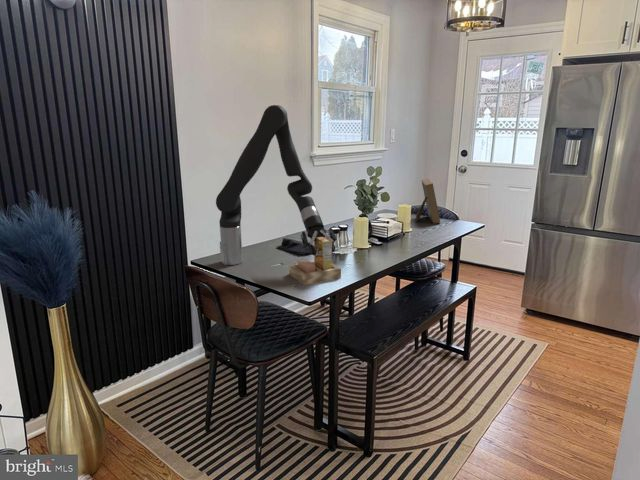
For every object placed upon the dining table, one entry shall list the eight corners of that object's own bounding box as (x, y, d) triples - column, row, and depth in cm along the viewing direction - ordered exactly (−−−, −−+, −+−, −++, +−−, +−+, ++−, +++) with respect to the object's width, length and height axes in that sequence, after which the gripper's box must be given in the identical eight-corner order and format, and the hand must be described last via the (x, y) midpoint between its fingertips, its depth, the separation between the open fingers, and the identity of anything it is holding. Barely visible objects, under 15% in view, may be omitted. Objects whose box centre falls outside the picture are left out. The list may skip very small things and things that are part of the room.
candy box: (313, 271, 186) (313, 236, 182) (322, 270, 188) (322, 235, 184) (323, 278, 179) (323, 241, 175) (332, 276, 181) (332, 240, 177)
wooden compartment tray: (303, 288, 173) (303, 275, 171) (289, 277, 185) (289, 264, 183) (340, 281, 180) (341, 268, 178) (324, 271, 192) (324, 259, 190)
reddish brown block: (306, 281, 176) (306, 266, 174) (297, 275, 183) (297, 261, 181) (315, 279, 178) (315, 265, 176) (306, 273, 184) (306, 259, 183)
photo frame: (435, 216, 295) (437, 178, 288) (440, 223, 274) (442, 183, 267) (412, 216, 296) (413, 178, 290) (415, 223, 276) (417, 183, 269)
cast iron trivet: (297, 258, 211) (297, 249, 210) (274, 248, 228) (274, 239, 227) (323, 252, 219) (323, 243, 218) (299, 243, 237) (299, 234, 235)
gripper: (298, 216, 180) (311, 250, 174) (329, 212, 187) (343, 245, 180) (293, 226, 186) (305, 259, 180) (323, 222, 193) (336, 254, 186)
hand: (324, 252), depth 180 cm, fingers open, 8 cm apart
